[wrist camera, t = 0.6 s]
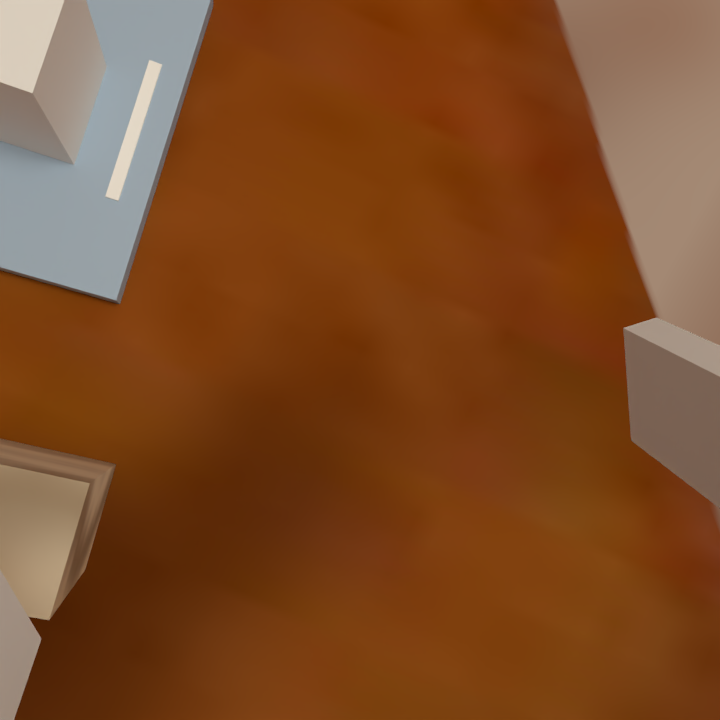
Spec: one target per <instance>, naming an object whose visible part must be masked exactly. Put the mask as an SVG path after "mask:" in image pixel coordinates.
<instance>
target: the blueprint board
mask: <svg viewBox="0 0 720 720" xmlns="http://www.w3.org/2000/svg"><path fill="white" fill-rule="evenodd" d="M212 8H213V0H0V270H2V271H5V272H9V273H12V274H16V275H19V276H23V277H26V278H30V279H33V280H37V281H40V282H44V283H47V284H51V285H54V286H58V287H61V288H65V289H68V290H72V291H75V292H79V293H82V294H86V295H89V296H93V297H96V298H100V299H103V300H107V301H110V302H114V303H117V304H120V302H121V299H122V296H123V292H124V289H125V286H126V283H127V280H128V277H129V273H130V270H131V267H132V264H133V261H134V257H135V254H136V251H137V248H138V245H139V241H140V238H141V235H142V232H143V229H144V225H145V222H146V219H147V216H148V213H149V209H150V206H151V203H152V200H153V197H154V194H155V190H156V187H157V184H158V181H159V178H160V174H161V171H162V168H163V165H164V162H165V158H166V155H167V152H168V149H169V146H170V142H171V139H172V136H173V133H174V130H175V126H176V123H177V120H178V117H179V114H180V111H181V107H182V104H183V101H184V98H185V95H186V91H187V88H188V85H189V82H190V79H191V75H192V72H193V69H194V66H195V63H196V59H197V56H198V53H199V50H200V47H201V43H202V40H203V37H204V34H205V31H206V28H207V24H208V21H209V18H210V15H211V12H212Z"/></svg>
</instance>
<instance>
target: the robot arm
mask: <svg viewBox="0 0 720 720" xmlns="http://www.w3.org/2000/svg"><path fill="white" fill-rule="evenodd" d="M624 343H625V357H626V371H627V386H628V400H629V414H630V429H631V441H633V442H634V443H635V444H637V445H638V446H639V447H641V448H642V449H643V450H644V451H646V452H647V453H648V454H650V455H651V456H652V457H654V458H655V459H656V460H658V461H659V462H660V463H661V464H663V465H664V466H665V467H667V468H668V469H669V470H671V471H672V472H673V473H674V474H676V475H677V476H678V477H680V478H681V479H682V480H684V481H685V482H686V483H688V484H689V485H690V486H691V487H693V488H694V489H695V490H697V491H698V492H699V493H701V494H702V495H703V496H705V497H706V498H707V499H708V500H710V501H711V502H712V503H714V504H715V505H716V506H718V507H719V508H720V345H717V344H715V343H713V342H711V341H708V340H706V339H704V338H702V337H700V336H697V335H695V334H693V333H691V332H688V331H686V330H684V329H681V328H679V327H677V326H675V325H672V324H670V323H668V322H666V321H663V320H661V319H659V318H654V319H651V320H648V321H644V322H641V323H638V324H635V325H632V326H629V327H625V328H624ZM40 642H41V637H40V636H39V634H38V632H37V631H36V629H35V627H34V625H33V624H32V622H31V620H30V619H29V617H28V615H27V614H26V612H25V610H24V609H23V607H22V605H21V604H20V602H19V600H18V599H17V597H16V595H15V594H14V592H13V590H12V588H11V587H10V585H9V583H8V582H7V580H6V578H5V577H4V575H3V573H2V572H1V570H0V720H14V718H15V715H16V712H17V709H18V707H19V704H20V701H21V698H22V695H23V692H24V689H25V686H26V683H27V680H28V677H29V674H30V671H31V668H32V665H33V662H34V659H35V656H36V654H37V651H38V648H39V645H40Z"/></svg>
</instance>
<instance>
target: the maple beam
mask: <svg viewBox="0 0 720 720" xmlns="http://www.w3.org/2000/svg"><path fill="white" fill-rule="evenodd" d="M115 466H116V464H113V463H109V462H104V461H100V460H95V459H91V458H86V457H82V456H77V455H73V454H68V453H63V452H59V451H54V450H50V449H45V448H41V447H36V446H32V445H27V444H23V443H18V442H14V441H9V440H5V439H0V570H1V572H2V573H3V575H4V577H5V578H6V580H7V582H8V583H9V585H10V587H11V588H12V590H13V592H14V594H15V595H16V597H17V599H18V600H19V602H20V604H21V605H22V607H23V609H24V610H25V612H26V614H27V615H28V617H33V618H39V619H45V620H50V618H51V617H52V616H53V614H54V613H55V611H56V610H57V609H58V607H59V606H60V604H61V603H62V602H63V600H64V599H65V597H66V596H67V595H68V593H69V592H70V590H71V589H72V588H73V586H74V585H75V583H76V582H77V581H78V579H79V578H80V577H81V575H82V574H83V572H84V571H85V569H86V566H87V562H88V559H89V555H90V552H91V549H92V545H93V542H94V538H95V535H96V531H97V528H98V525H99V521H100V518H101V514H102V511H103V507H104V504H105V501H106V497H107V494H108V490H109V487H110V483H111V480H112V477H113V473H114V470H115Z"/></svg>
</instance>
